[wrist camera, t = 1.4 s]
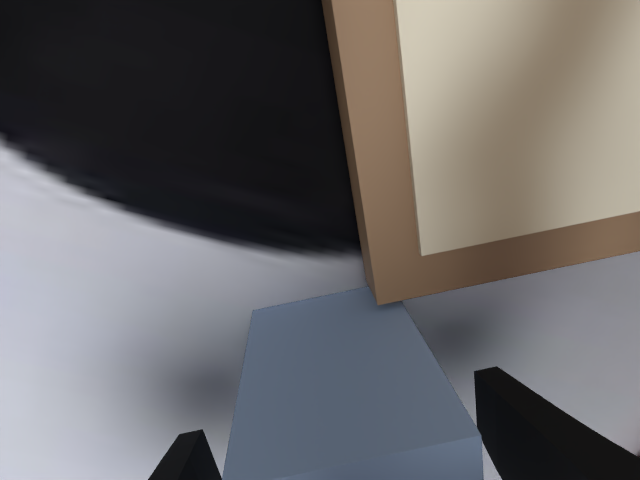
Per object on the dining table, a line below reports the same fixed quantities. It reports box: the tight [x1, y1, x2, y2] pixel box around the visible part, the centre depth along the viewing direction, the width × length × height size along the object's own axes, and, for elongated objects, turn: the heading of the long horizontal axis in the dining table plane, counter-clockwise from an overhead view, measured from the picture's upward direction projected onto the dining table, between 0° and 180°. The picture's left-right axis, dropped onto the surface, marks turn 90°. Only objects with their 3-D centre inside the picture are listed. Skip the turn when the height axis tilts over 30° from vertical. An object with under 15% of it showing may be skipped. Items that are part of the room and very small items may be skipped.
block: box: [222, 287, 483, 480], centre depth 10 cm, size 4×4×6 cm
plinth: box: [322, 0, 640, 305], centre depth 9 cm, size 9×9×2 cm
